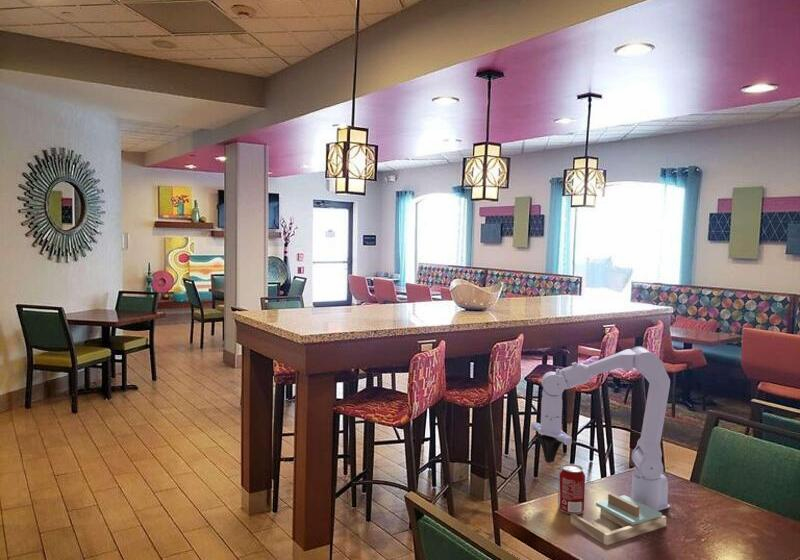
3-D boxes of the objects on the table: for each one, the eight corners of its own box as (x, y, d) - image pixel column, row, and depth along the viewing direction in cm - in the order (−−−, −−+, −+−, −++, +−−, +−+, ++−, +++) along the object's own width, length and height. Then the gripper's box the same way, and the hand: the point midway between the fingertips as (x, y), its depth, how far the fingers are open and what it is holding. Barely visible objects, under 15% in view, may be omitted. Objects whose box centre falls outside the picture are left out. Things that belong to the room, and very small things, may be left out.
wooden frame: (624, 505, 161) (625, 496, 161) (666, 526, 149) (666, 516, 149) (567, 521, 151) (567, 512, 150) (606, 545, 139) (607, 535, 139)
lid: (624, 497, 159) (624, 486, 159) (661, 516, 149) (662, 503, 149) (596, 505, 154) (596, 493, 154) (632, 525, 144) (633, 512, 144)
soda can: (585, 517, 153) (586, 473, 152) (558, 514, 154) (560, 471, 154) (582, 506, 160) (583, 464, 159) (557, 503, 161) (558, 461, 160)
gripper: (523, 409, 168) (521, 455, 169) (558, 423, 155) (556, 473, 156) (542, 406, 171) (540, 451, 172) (578, 420, 159) (576, 468, 159)
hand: (549, 461), depth 164 cm, fingers closed
